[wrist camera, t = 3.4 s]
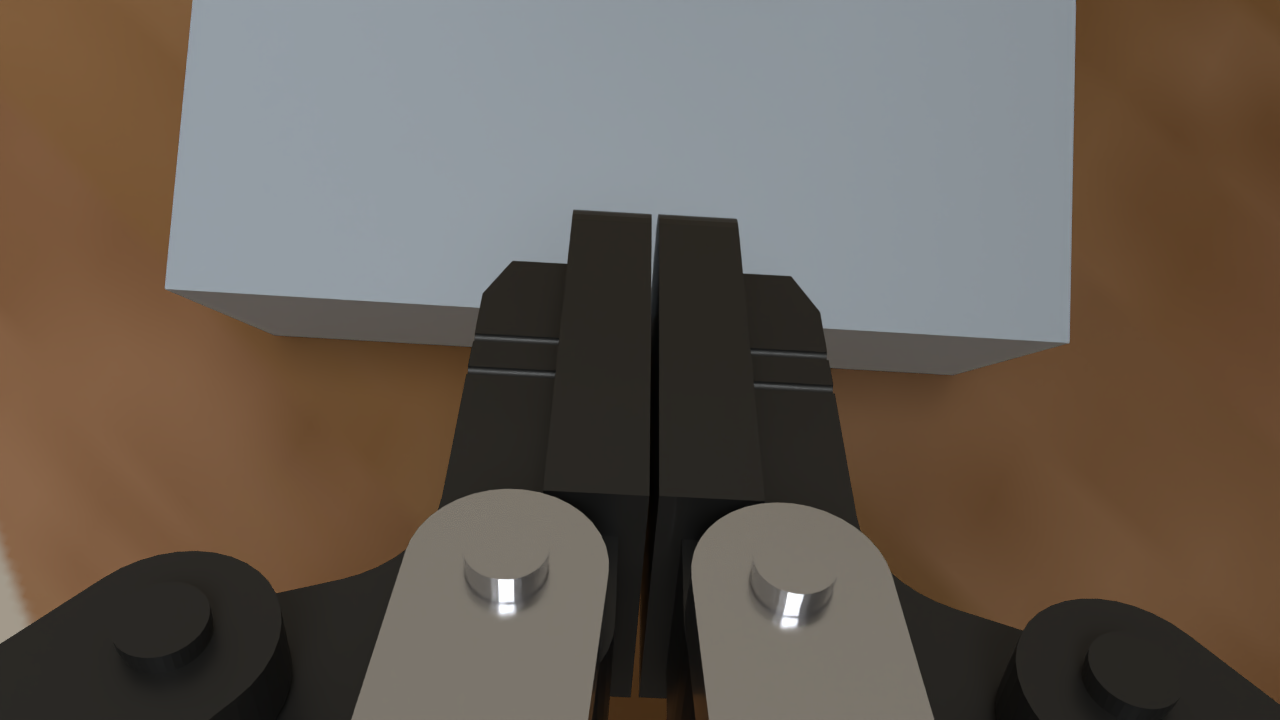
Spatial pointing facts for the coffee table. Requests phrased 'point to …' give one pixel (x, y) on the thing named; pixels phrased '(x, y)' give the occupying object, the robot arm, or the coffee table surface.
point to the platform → (633, 159)
